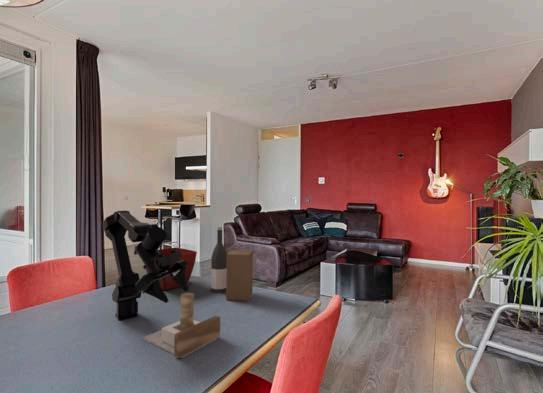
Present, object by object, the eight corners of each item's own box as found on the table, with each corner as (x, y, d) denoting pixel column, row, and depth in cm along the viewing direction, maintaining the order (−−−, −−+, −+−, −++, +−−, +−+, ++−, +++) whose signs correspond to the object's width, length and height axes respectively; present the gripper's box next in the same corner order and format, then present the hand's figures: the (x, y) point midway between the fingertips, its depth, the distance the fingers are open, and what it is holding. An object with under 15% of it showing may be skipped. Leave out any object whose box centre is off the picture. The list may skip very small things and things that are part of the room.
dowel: (182, 341, 91) (183, 298, 91) (178, 336, 94) (178, 294, 94) (195, 337, 93) (195, 295, 93) (190, 332, 96) (191, 292, 96)
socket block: (161, 340, 93) (161, 328, 93) (187, 328, 101) (187, 317, 101) (182, 350, 87) (182, 337, 87) (208, 337, 95) (208, 325, 95)
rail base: (140, 340, 94) (140, 319, 94) (181, 322, 107) (182, 304, 107) (178, 359, 84) (179, 336, 83) (219, 337, 97) (220, 317, 97)
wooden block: (252, 293, 139) (253, 250, 139) (248, 301, 129) (249, 254, 129) (231, 292, 140) (231, 249, 140) (225, 300, 130) (226, 254, 130)
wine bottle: (224, 293, 139) (225, 228, 139) (207, 291, 141) (208, 227, 141) (230, 287, 147) (230, 226, 147) (214, 286, 149) (215, 225, 149)
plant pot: (175, 277, 164) (175, 246, 163) (197, 285, 151) (197, 251, 151) (141, 285, 149) (141, 251, 149) (162, 294, 137) (162, 257, 137)
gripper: (141, 250, 89) (171, 293, 86) (184, 236, 106) (210, 273, 103) (122, 271, 93) (150, 314, 89) (166, 255, 110) (191, 290, 107)
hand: (177, 296), depth 97 cm, fingers open, 9 cm apart
